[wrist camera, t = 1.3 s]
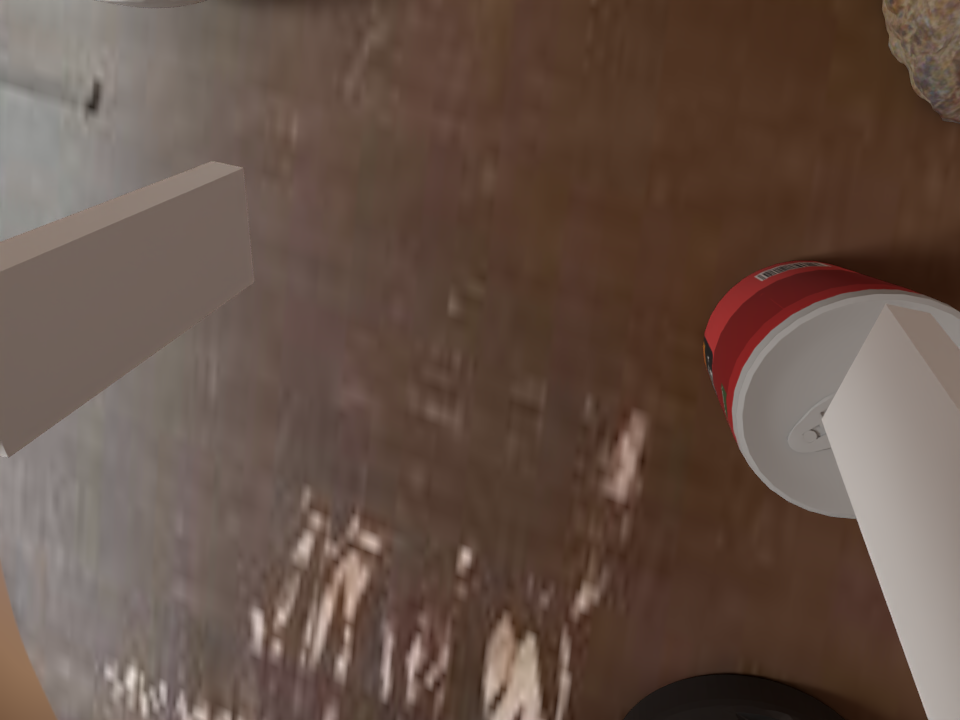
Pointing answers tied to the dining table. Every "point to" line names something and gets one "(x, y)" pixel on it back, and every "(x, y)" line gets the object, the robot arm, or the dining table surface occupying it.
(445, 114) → the dining table surface
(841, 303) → the canned food
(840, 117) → the dining table surface
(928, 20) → the oyster shell
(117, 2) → the serving bowl
